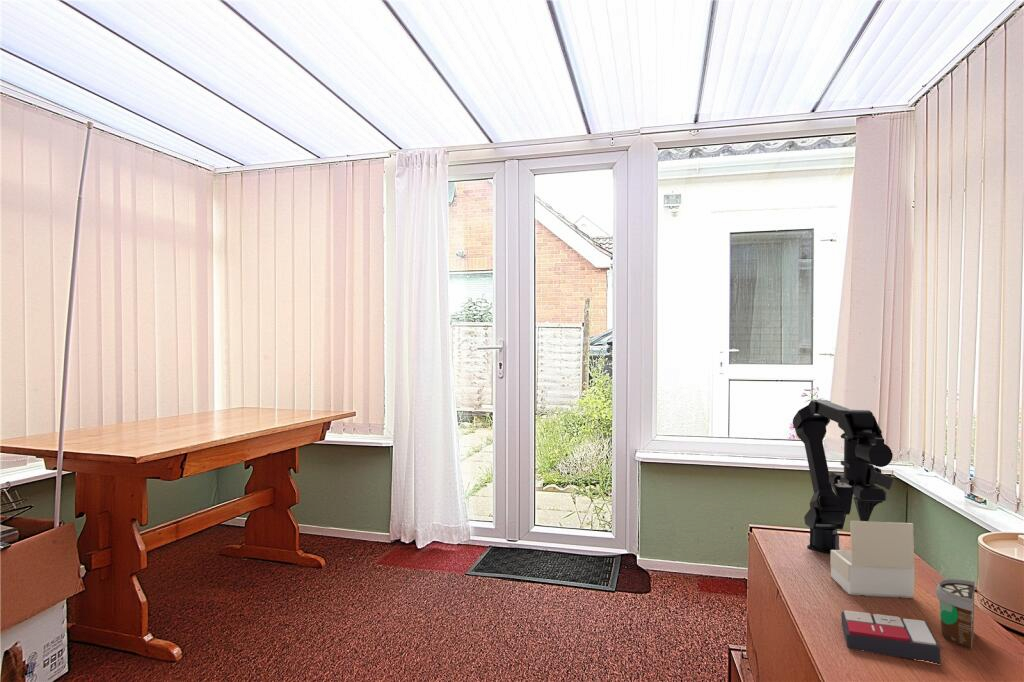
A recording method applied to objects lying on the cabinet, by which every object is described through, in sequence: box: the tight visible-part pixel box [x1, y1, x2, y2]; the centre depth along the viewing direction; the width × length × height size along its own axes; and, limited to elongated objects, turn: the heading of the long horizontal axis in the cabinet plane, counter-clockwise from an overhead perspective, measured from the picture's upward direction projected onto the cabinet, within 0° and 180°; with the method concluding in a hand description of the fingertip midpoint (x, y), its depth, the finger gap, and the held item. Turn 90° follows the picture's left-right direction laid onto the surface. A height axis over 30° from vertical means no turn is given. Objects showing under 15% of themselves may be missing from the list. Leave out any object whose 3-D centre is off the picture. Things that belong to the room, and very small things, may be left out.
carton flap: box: [849, 520, 915, 568], centre depth 140 cm, size 10×14×1 cm
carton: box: [829, 549, 916, 599], centre depth 145 cm, size 10×15×7 cm
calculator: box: [840, 609, 942, 665], centre depth 119 cm, size 11×4×15 cm
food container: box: [934, 578, 976, 651], centre depth 122 cm, size 12×6×10 cm, turn 141°
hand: (855, 519), depth 156 cm, fingers open, 9 cm apart
